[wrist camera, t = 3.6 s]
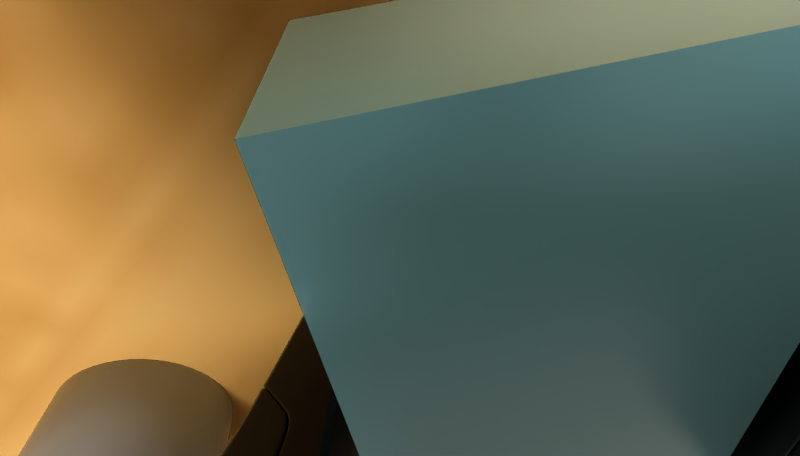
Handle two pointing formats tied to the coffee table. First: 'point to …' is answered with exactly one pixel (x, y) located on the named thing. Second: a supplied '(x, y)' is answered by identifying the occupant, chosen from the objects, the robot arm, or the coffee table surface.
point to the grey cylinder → (135, 413)
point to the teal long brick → (539, 218)
